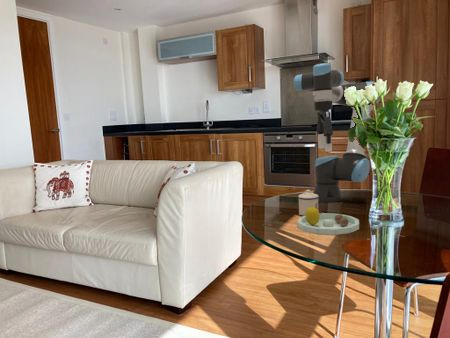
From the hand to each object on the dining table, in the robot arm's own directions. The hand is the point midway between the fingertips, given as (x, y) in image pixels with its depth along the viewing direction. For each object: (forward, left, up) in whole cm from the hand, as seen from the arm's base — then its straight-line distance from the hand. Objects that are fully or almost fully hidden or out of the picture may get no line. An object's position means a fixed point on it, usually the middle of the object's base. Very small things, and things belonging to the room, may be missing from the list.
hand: (324, 149), depth 159 cm
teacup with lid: (+4, -6, -30) cm, 30 cm away
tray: (+17, +12, -29) cm, 36 cm away
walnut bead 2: (+14, +17, -28) cm, 36 cm away
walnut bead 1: (+11, +13, -28) cm, 33 cm away
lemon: (+21, +7, -29) cm, 36 cm away
